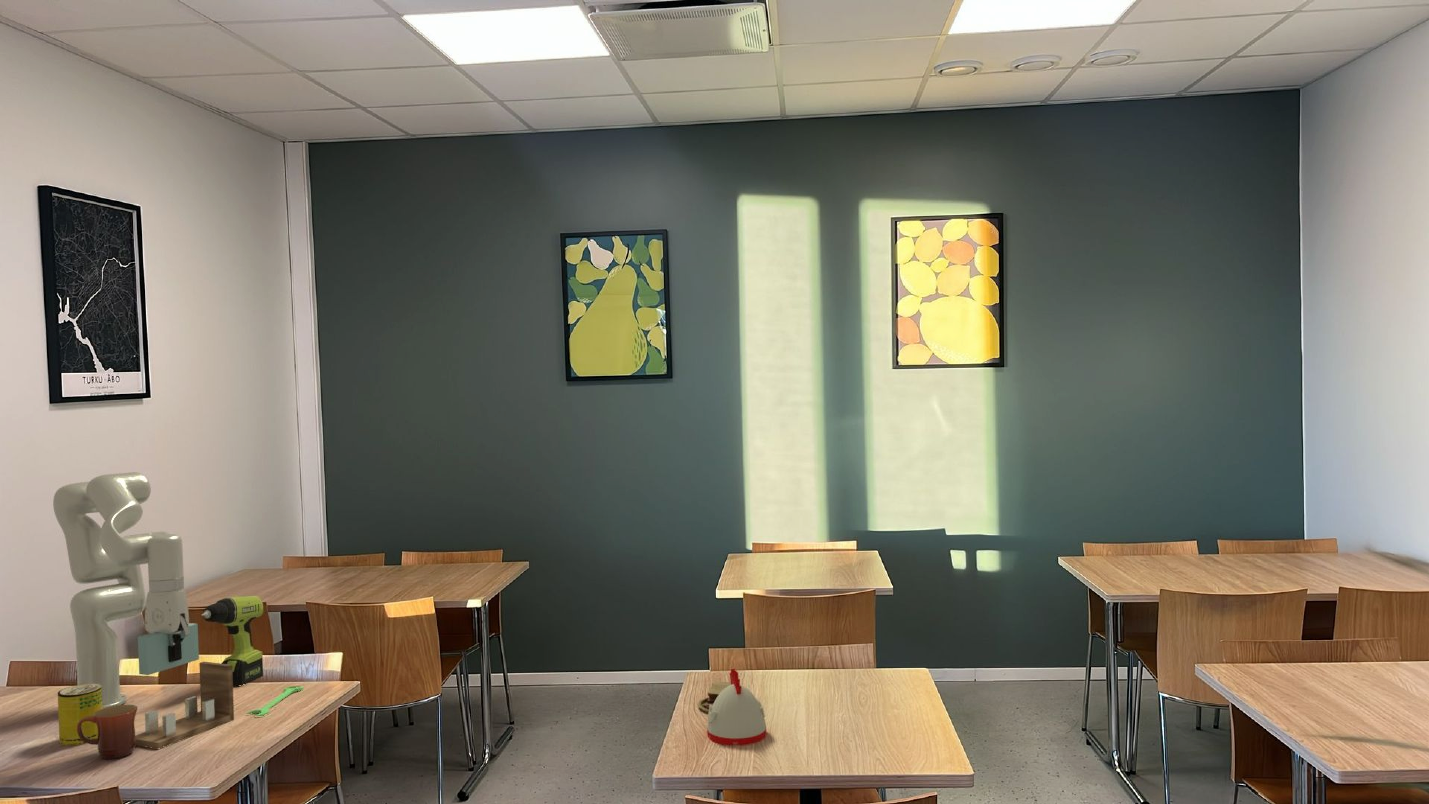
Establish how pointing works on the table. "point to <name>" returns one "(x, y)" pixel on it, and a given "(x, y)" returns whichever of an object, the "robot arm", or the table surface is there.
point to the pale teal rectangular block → (165, 651)
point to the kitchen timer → (736, 716)
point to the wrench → (276, 700)
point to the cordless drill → (239, 634)
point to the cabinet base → (194, 709)
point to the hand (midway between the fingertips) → (169, 659)
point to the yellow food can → (78, 712)
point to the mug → (112, 731)
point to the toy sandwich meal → (712, 695)
